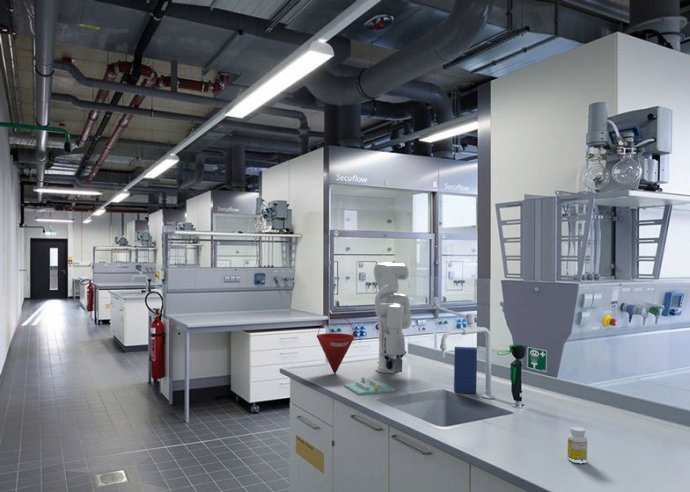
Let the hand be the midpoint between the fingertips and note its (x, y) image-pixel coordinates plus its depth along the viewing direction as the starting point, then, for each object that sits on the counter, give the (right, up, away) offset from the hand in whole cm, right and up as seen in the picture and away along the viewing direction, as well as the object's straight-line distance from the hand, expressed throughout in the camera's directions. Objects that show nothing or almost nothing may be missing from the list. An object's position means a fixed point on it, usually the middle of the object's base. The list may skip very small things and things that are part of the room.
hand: (393, 367), depth 247 cm
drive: (0, -1, 0) cm, 1 cm away
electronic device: (+31, -7, -18) cm, 36 cm away
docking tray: (-12, -6, -15) cm, 21 cm away
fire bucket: (-29, -6, +13) cm, 32 cm away
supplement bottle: (+46, -5, -94) cm, 105 cm away
